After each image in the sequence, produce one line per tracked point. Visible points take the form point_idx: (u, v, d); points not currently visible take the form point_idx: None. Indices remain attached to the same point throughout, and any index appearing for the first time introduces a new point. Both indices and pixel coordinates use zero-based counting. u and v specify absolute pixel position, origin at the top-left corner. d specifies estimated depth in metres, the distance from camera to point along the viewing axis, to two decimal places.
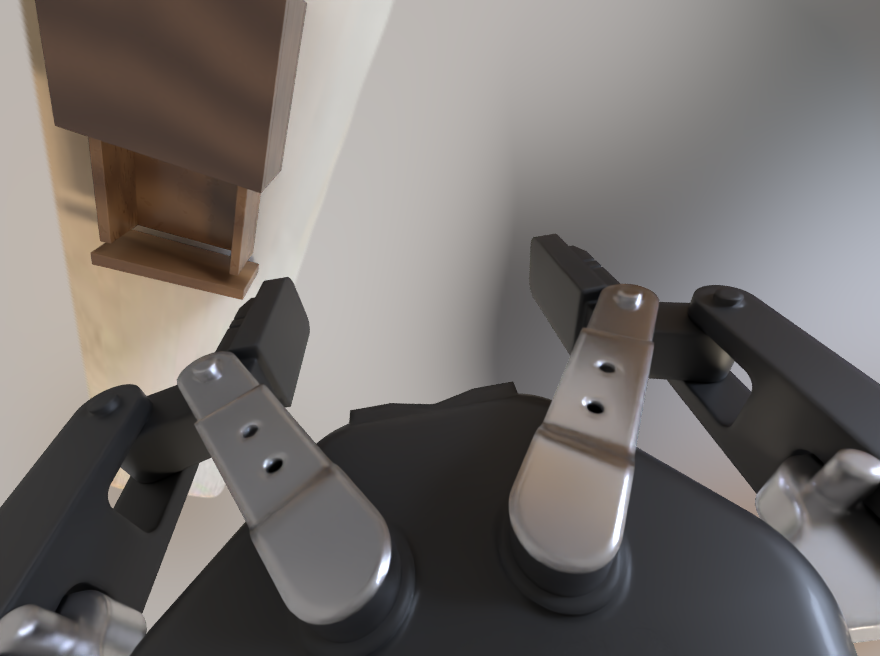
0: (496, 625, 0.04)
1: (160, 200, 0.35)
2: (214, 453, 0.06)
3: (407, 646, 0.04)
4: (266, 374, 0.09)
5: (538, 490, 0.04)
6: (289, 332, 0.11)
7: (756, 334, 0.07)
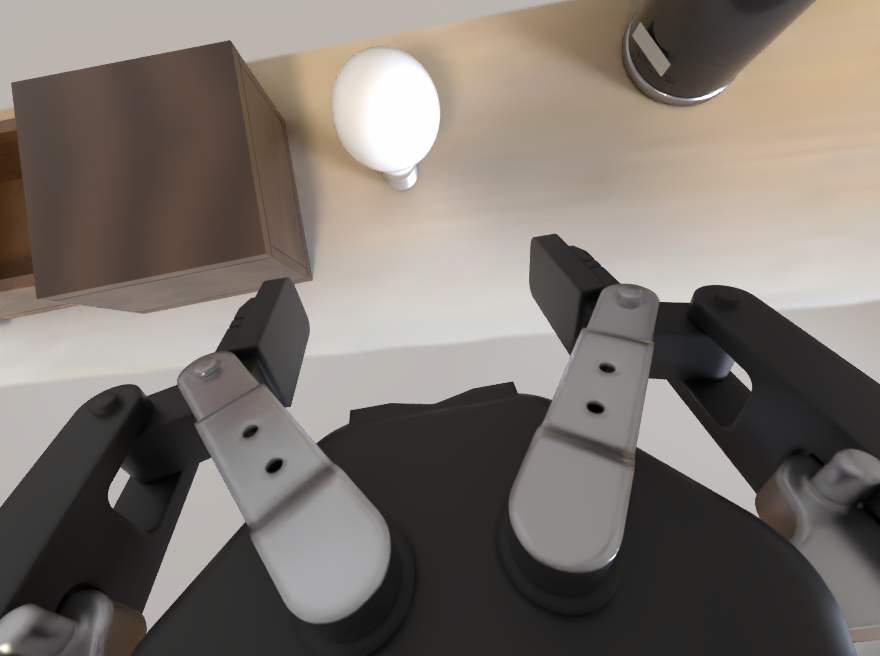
0: (495, 625, 0.04)
1: None
2: (214, 453, 0.06)
3: (407, 646, 0.04)
4: (266, 374, 0.09)
5: (538, 490, 0.04)
6: (289, 332, 0.11)
7: (756, 334, 0.07)
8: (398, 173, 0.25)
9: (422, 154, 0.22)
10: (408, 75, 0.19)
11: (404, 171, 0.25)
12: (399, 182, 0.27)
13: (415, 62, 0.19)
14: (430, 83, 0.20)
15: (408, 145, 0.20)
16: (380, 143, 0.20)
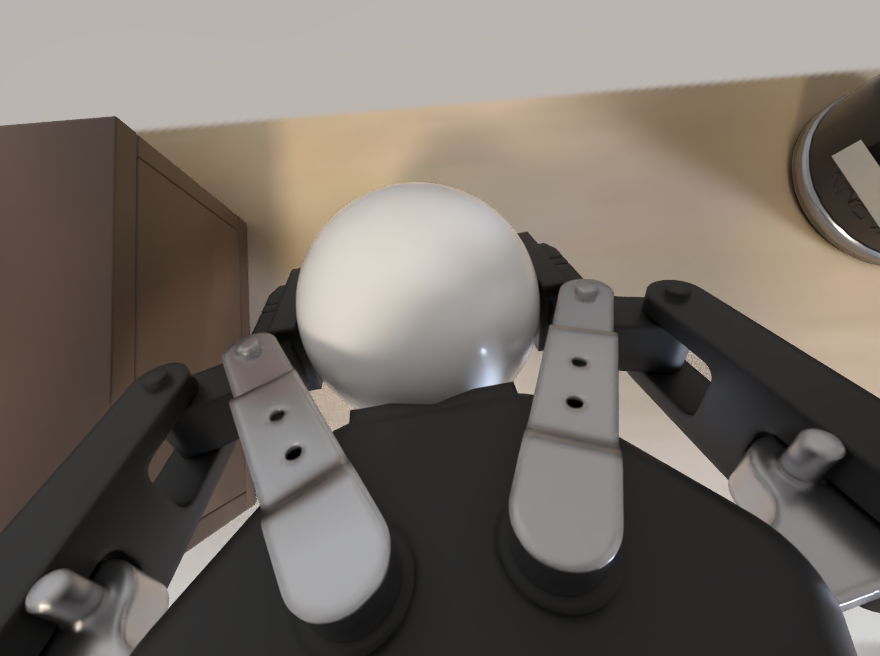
0: (495, 625, 0.04)
1: None
2: (242, 432, 0.06)
3: (407, 646, 0.04)
4: (300, 356, 0.09)
5: (538, 490, 0.04)
6: None
7: (708, 325, 0.07)
8: None
9: None
10: (491, 279, 0.07)
11: None
12: None
13: (506, 234, 0.08)
14: (533, 278, 0.08)
15: None
16: None
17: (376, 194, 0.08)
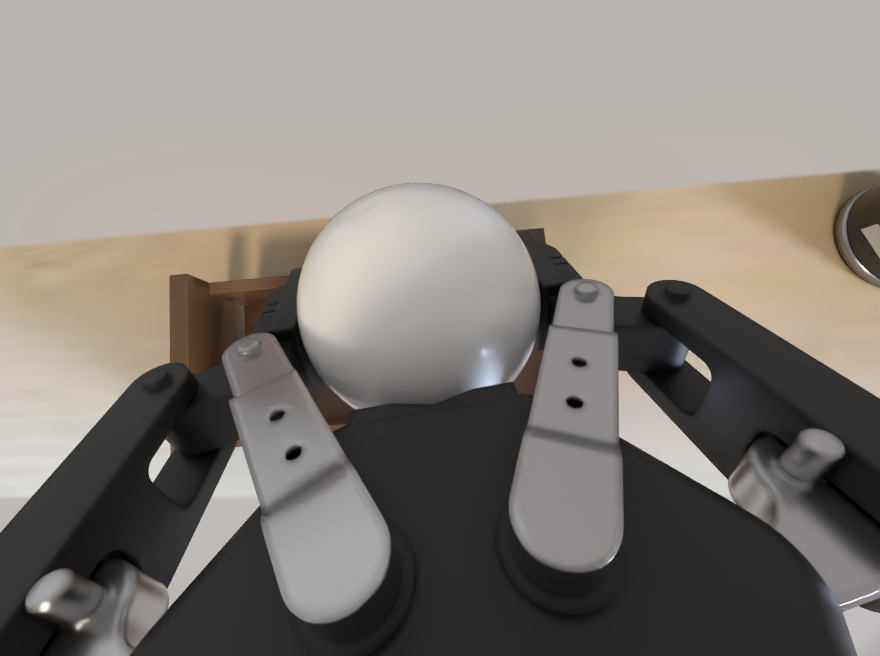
0: (496, 625, 0.04)
1: None
2: (241, 432, 0.06)
3: (407, 646, 0.04)
4: (301, 356, 0.09)
5: (538, 490, 0.04)
6: None
7: (709, 325, 0.07)
8: None
9: None
10: (492, 280, 0.07)
11: None
12: None
13: (507, 235, 0.08)
14: (534, 279, 0.08)
15: None
16: None
17: (377, 195, 0.08)
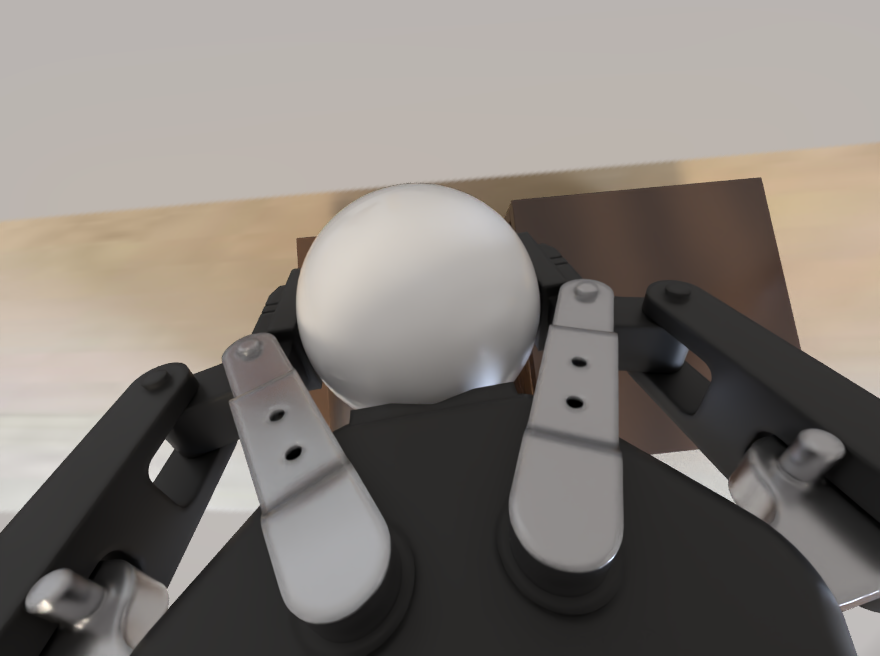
0: (495, 625, 0.04)
1: None
2: (242, 432, 0.06)
3: (407, 646, 0.04)
4: (301, 356, 0.09)
5: (538, 490, 0.04)
6: None
7: (709, 325, 0.07)
8: None
9: None
10: (492, 280, 0.07)
11: None
12: None
13: (506, 235, 0.08)
14: (533, 279, 0.08)
15: None
16: None
17: (376, 195, 0.08)
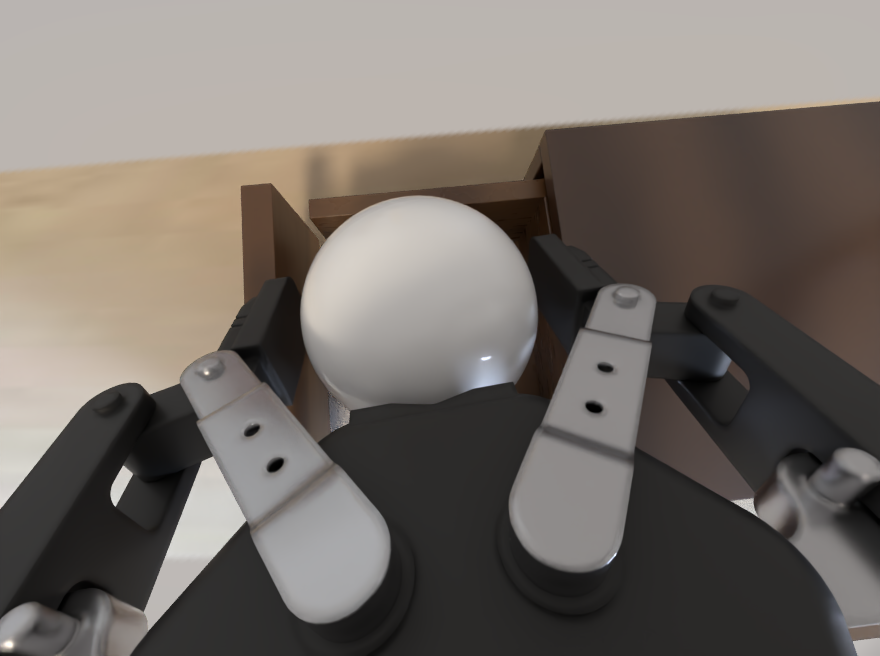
0: (495, 625, 0.04)
1: None
2: (216, 452, 0.06)
3: (407, 646, 0.04)
4: (268, 373, 0.09)
5: (538, 490, 0.04)
6: (291, 331, 0.11)
7: (753, 333, 0.07)
8: None
9: None
10: (490, 292, 0.07)
11: None
12: None
13: (505, 247, 0.08)
14: (531, 289, 0.09)
15: None
16: None
17: (379, 209, 0.08)
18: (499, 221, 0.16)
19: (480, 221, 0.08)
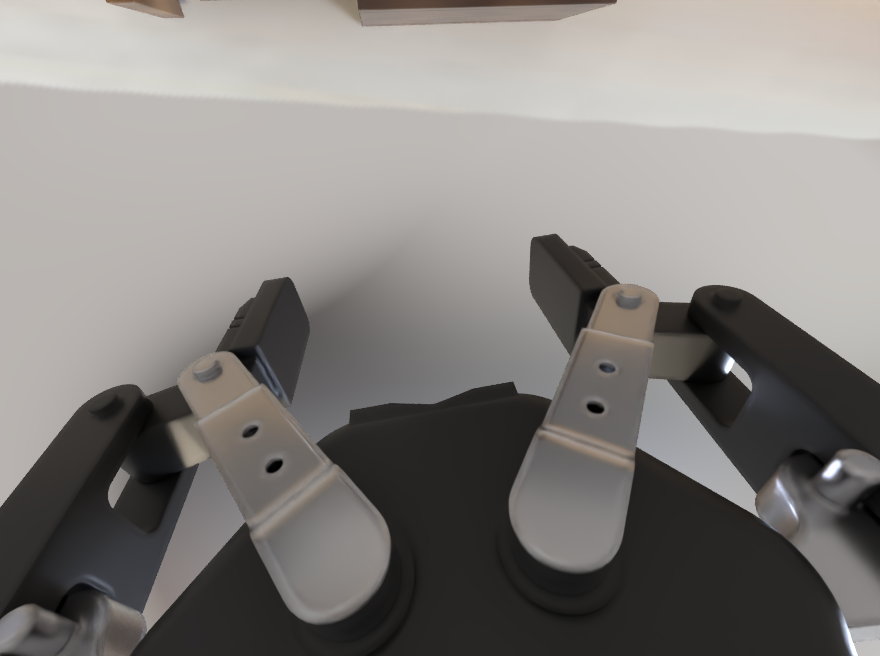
0: (495, 625, 0.04)
1: None
2: (214, 453, 0.05)
3: (407, 646, 0.04)
4: (266, 374, 0.09)
5: (538, 490, 0.04)
6: (289, 332, 0.11)
7: (756, 334, 0.07)
8: None
9: None
10: None
11: None
12: None
13: None
14: None
15: None
16: None
17: None
18: None
19: None
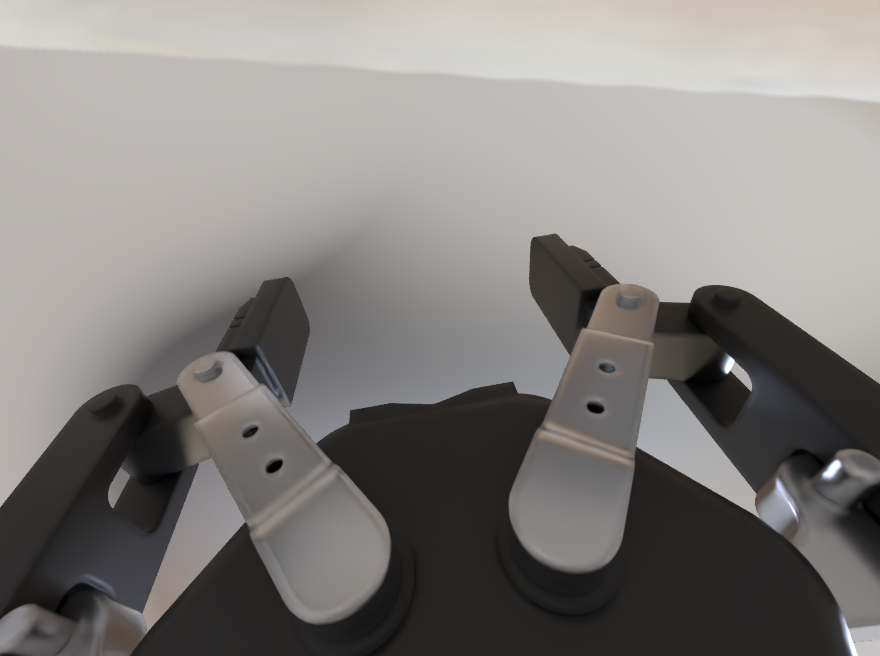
0: (496, 625, 0.04)
1: None
2: (214, 453, 0.06)
3: (407, 646, 0.04)
4: (266, 374, 0.09)
5: (537, 490, 0.04)
6: (289, 332, 0.11)
7: (756, 334, 0.07)
8: None
9: None
10: None
11: None
12: None
13: None
14: None
15: None
16: None
17: None
18: None
19: None
